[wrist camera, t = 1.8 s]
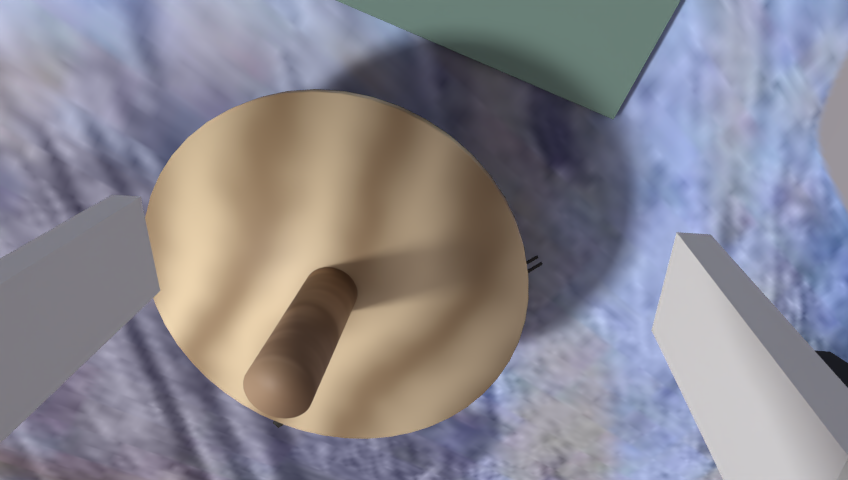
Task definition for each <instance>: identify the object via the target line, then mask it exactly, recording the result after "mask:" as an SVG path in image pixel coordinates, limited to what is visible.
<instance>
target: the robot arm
mask: <svg viewBox="0 0 848 480" xmlns="http://www.w3.org/2000/svg"><path fill="white" fill-rule="evenodd" d="M159 292H160V287H159V282H158V277H157V272H156V268H155V263H154V258H153V254H152V249H151V244H150V239H149V235H148V230H147V225H146V221H145V216H144V211H143V206H142V202H141V197H135V196H120V195H111V196H109V197H107V198H105V199H104V200H102V201H100V202H98V203H97V204H95V205H93V206H91V207H90V208H88V209H86V210H84V211H83V212H81V213H79V214H77V215H76V216H74V217H72V218H70V219H69V220H67V221H65V222H63V223H62V224H60V225H58V226H56V227H55V228H53V229H51V230H49V231H48V232H46V233H44V234H42V235H41V236H39V237H37V238H35V239H34V240H32V241H30V242H28V243H27V244H25V245H23V246H21V247H20V248H18V249H16V250H14V251H13V252H11V253H9V254H7V255H6V256H4V257H2V258H0V443H1V442H2V441H3V440H4V439H5V438H6V437H7V436H9V435H10V434H11V433H12V432H13V431H14V430H15V429H16V428H17V427H18V426H19V425H20V424H21V423H22V422H23V421H24V420H25V419H26V418H27V417H28V416H30V415H31V414H32V413H33V412H34V411H35V410H36V409H37V408H38V407H39V406H40V405H41V404H42V403H43V402H44V401H45V400H46V399H47V398H48V397H49V396H51V395H52V394H53V393H54V392H55V391H56V390H57V389H58V388H59V387H60V386H61V385H62V384H63V383H64V382H65V381H66V380H67V379H68V378H69V377H70V376H72V375H73V374H74V373H75V372H76V371H77V370H78V369H79V368H80V367H81V366H82V365H83V364H84V363H85V362H86V361H87V360H88V359H89V358H90V357H91V356H92V355H94V354H95V353H96V352H97V351H98V350H99V349H100V348H101V347H102V346H103V345H104V344H105V343H106V342H107V341H108V340H109V339H110V338H111V337H112V336H113V335H115V334H116V333H117V332H118V331H119V330H120V329H121V328H122V327H123V326H124V325H125V324H126V323H127V322H128V321H129V320H130V319H131V318H132V317H133V316H134V315H136V314H137V313H138V312H139V311H140V310H141V309H142V308H143V307H144V306H145V305H146V304H147V303H148V302H149V301H150V300H151V299H152V298H153V297H154V296H155V295H157V294H158V293H159ZM652 332H653V334H654V336H655V338H656V340H657V342H658V344H659V347H660V349H661V351H662V353H663V355H664V357H665V359H666V361H667V363H668V365H669V367H670V369H671V372H672V374H673V376H674V378H675V380H676V382H677V384H678V386H679V388H680V390H681V392H682V394H683V397H684V399H685V401H686V403H687V405H688V407H689V409H690V411H691V413H692V415H693V417H694V419H695V422H696V424H697V426H698V428H699V430H700V432H701V434H702V436H703V438H704V440H705V442H706V444H707V447H708V449H709V451H710V453H711V455H712V457H713V459H714V461H715V463H716V465H717V467H718V469H719V472H720V474H721V476H722V478H723V480H848V363H847V362H845V361H844V360H842V359H840V358H839V357H837V356H836V355H834V354H833V353H831V352H825V351H814V350H813V348H812V347H811V346H810V345H809V344H808V343H807V342H806V341H805V340H804V338H803V337H802V336H801V335H800V334H799V333H798V332H797V331H796V329H795V328H794V327H793V326H792V325H791V324H790V323H789V322H788V321H787V319H786V318H785V317H784V316H783V315H782V314H781V313H780V312H779V311H778V309H777V308H776V307H775V306H774V305H773V304H772V303H771V302H770V300H769V299H768V298H767V297H766V296H765V295H764V294H763V293H762V292H761V290H760V289H759V288H758V287H757V286H756V285H755V284H754V283H753V281H752V280H751V279H750V278H749V277H748V276H747V275H746V274H745V273H744V271H743V270H742V269H741V268H740V267H739V266H738V265H737V264H736V262H735V261H734V260H733V259H732V258H731V257H730V256H729V255H728V254H727V252H726V251H725V250H724V249H723V248H722V247H721V246H720V245H719V243H718V242H717V241H716V240H715V239H714V238H713V237H712V236H711V235H708V234H693V233H678V232H677V233H676V237H675V241H674V245H673V249H672V253H671V257H670V260H669V264H668V268H667V272H666V276H665V280H664V284H663V288H662V292H661V296H660V300H659V304H658V307H657V311H656V315H655V319H654V323H653V327H652Z"/></svg>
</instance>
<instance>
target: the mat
mask: <svg viewBox="0 0 848 480" xmlns="http://www.w3.org/2000/svg"><path fill="white" fill-rule="evenodd" d="M336 1H339V2H341V3H343V4H346V5H348V6H350V7H353V8H355V9H357V10H360V11H362V12H364V13H367V14H369V15H371V16H374V17H376V18H378V19H381V20H383V21H385V22H388V23H390V24H392V25H395V26H397V27H399V28H402V29H404V30H406V31H409V32H411V33H413V34H416V35H418V36H420V37H423V38H425V39H427V40H429V41H432V42H434V43H436V44H439V45H441V46H443V47H446V48H448V49H450V50H453V51H455V52H457V53H460V54H462V55H464V56H467V57H469V58H471V59H474V60H476V61H478V62H481V63H483V64H485V65H488V66H490V67H492V68H495V69H497V70H499V71H502V72H504V73H506V74H509V75H511V76H513V77H516V78H518V79H520V80H523V81H525V82H527V83H530V84H532V85H534V86H537V87H539V88H541V89H544V90H546V91H548V92H551V93H553V94H555V95H558V96H560V97H562V98H565V99H567V100H569V101H572V102H574V103H576V104H579V105H581V106H583V107H586V108H588V109H590V110H592V111H595V112H597V113H599V114H602V115H604V116H606V117H609V118H611V119H614V118H615V116H616V114H617V112H618V110H619V109H620V107H621V105H622V103H623V102H624V100H625V98H626V96H627V94H628V93H629V91H630V89H631V87H632V86H633V84H634V82H635V80H636V78H637V77H638V75H639V73H640V71H641V70H642V68H643V66H644V64H645V63H646V61H647V59H648V57H649V55H650V54H651V52H652V50H653V48H654V47H655V45H656V43H657V41H658V39H659V38H660V36H661V34H662V32H663V31H664V29H665V27H666V25H667V23H668V22H669V20H670V18H671V16H672V15H673V13H674V11H675V9H676V8H677V6H678V4H679V2H680V0H336Z"/></svg>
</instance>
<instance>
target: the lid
mask: <svg viewBox="0 0 848 480" xmlns="http://www.w3.org/2000/svg"><path fill="white" fill-rule="evenodd" d="M145 221H146V225H147V230H148V235H149V239H150V244H151V249H152V254H153V258H154V263H155V268H156V272H157V277H158V282H159V287H160V292H159V293H158V294H157V295H155V296H154V297H153V298H154V301H155V304H156V306H157V308H158V311H159V313H160V315H161V317H162V319H163V321H164V323H165V325H166V327H167V328H168V330H169V332H170V333H171V335H172V336H173V338H174V340H175V341H176V343H177V344H178V345H179V347H180V348H181V349H182V351H183V352H184V353H185V354H186V356H187V357H188V358H189V359H190V361H191V362H192V363H193V364H194V365H195V366H196V367H197V368H198V369H199V370H200V371H201V372H202V373H203V374H204V375H205V376H206V377H207V378H208V379H209V380H210V381H212V382H213V383H214V384H215V385H216V386H218V387H219V388H220V389H221V390H222V391H224V392H225V393H226V394H228V395H229V396H231V397H232V398H234V399H235V400H237V401H238V402H240V403H241V404H243V405H244V406H246V407H248V408H250V409H252V410H254V411H255V412H257V413H259V414H261V415H263V416H265V417H267V418H270V419H272V420H274V421H277V422H279V423H281V424H284V425H287V426H290V427H293V428H296V429H299V430H303V431H307V432H311V433H316V434H320V435H325V436H333V437H341V438H366V439H368V438H380V437H391V436H396V435H401V434H406V433H411V432H414V431H417V430H420V429H424V428H427V427H430V426H432V425H434V424H437V423H439V422H441V421H443V420H445V419H448V418H450V417H451V416H453V415H455V414H456V413H458V412H460V411H461V410H463V409H464V408H466V407H468V406H469V405H470V404H471V403H472V402H474V401H475V400H476V399H477V398H479V397H480V396H481V395H482V394H483V393H484V392H485V391H486V390H487V389H488V388H489V387H490V386H491V385H492V384H493V383H494V382H495V380H496V379H497V378H498V377H499V375H500V374H501V372H502V371H503V370H504V368H505V367H506V365H507V364H508V362H509V361H510V359H511V357H512V355H513V352H514V350H515V348H516V346H517V344H518V342H519V339H520V336H521V333H522V329H523V326H524V323H525V318H526V312H527V305H528V270H527V263H526V257H525V251H524V245H523V241H522V238H521V235H520V232H519V229H518V225H517V222H516V220H515V218H514V216H513V213H512V211H511V209H510V207H509V205H508V203H507V201H506V199H505V197H504V195H503V194H502V192H501V191H500V189H499V188H498V186H497V185H496V183H495V182H494V180H493V179H492V177H491V176H490V175H489V173H488V172H487V171H486V170H485V169H484V168H483V167H482V165H481V164H480V163H479V162H478V161H477V160H476V159H475V157H474V156H473V155H472V154H471V153H470V152H469V151H467V150H466V149H465V148H464V147H463V146H462V145H461V144H459V143H458V142H457V141H456V140H455V139H454V138H453V137H451V136H450V135H449V134H447V133H446V132H444V131H443V130H441V129H440V128H438V127H437V126H435V125H434V124H432V123H431V122H429V121H428V120H426V119H424V118H422V117H420V116H418V115H416V114H414V113H412V112H410V111H408V110H406V109H404V108H402V107H400V106H397V105H395V104H392V103H389V102H386V101H383V100H380V99H377V98H374V97H371V96H366V95H361V94H356V93H351V92H346V91H336V90H321V89H310V90H296V91H286V92H281V93H277V94H272V95H267V96H263V97H260V98H257V99H254V100H252V101H249V102H246V103H244V104H241V105H239V106H236V107H234V108H232V109H229V110H228V111H226V112H224V113H222V114H221V115H219V116H217V117H215V118H214V119H212V120H210V121H208V122H207V123H206V124H204V125H203V126H202V127H201V128H199V129H198V130H197V131H196V132H194V133H193V134H192V135H191V136H189V137H188V138H187V139H186V140H185V142H184V143H183V144H182V145H181V146H180V147H179V148H178V149H177V150H176V152H175V153H174V154H173V155H172V156H171V158H170V160H169V161H168V163H167V164H166V166H165V167H164V169H163V171H162V172H161V174H160V175H159V178H158V180H157V182H156V185H155V187H154V189H153V192H152V194H151V197H150V201H149V205H148V209H147V213H146V217H145Z"/></svg>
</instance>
